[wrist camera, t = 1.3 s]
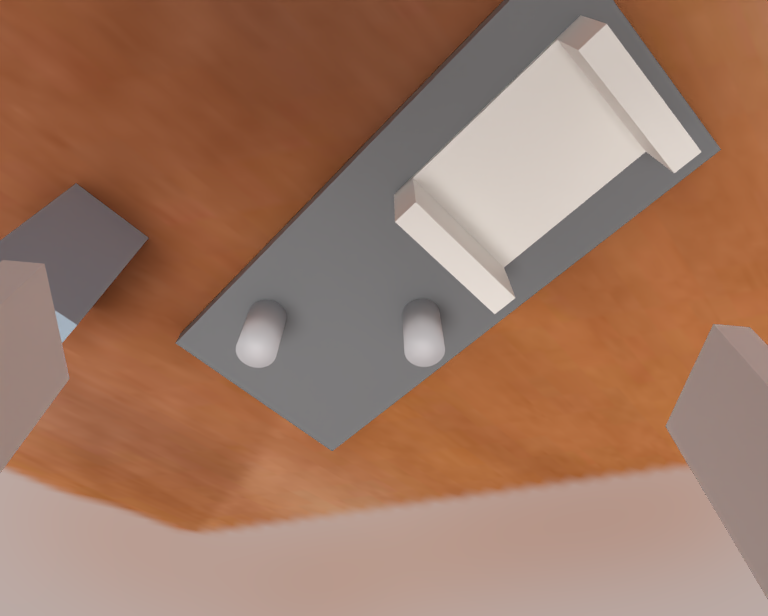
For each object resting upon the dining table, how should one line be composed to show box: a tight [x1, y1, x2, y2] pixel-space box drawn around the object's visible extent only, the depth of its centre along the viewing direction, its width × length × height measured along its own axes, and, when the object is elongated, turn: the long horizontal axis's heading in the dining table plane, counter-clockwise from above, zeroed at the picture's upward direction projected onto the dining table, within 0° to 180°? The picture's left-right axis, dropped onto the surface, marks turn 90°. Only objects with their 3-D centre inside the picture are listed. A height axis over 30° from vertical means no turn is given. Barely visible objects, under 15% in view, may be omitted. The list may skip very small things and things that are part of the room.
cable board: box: [176, 0, 721, 451], centre depth 35 cm, size 14×32×5 cm, turn 135°
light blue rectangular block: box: [0, 184, 148, 342], centre depth 33 cm, size 5×7×10 cm
